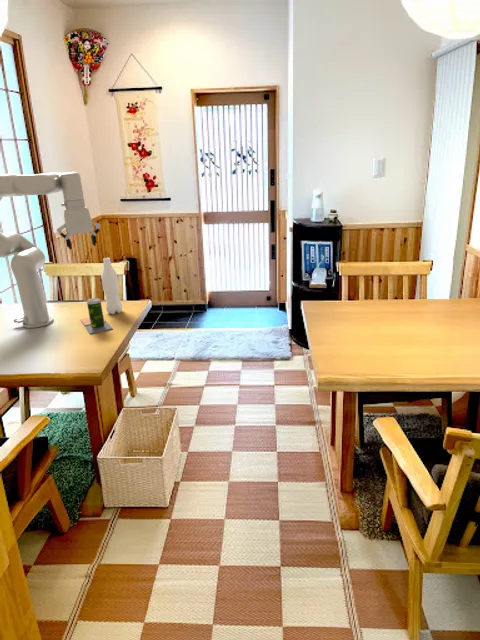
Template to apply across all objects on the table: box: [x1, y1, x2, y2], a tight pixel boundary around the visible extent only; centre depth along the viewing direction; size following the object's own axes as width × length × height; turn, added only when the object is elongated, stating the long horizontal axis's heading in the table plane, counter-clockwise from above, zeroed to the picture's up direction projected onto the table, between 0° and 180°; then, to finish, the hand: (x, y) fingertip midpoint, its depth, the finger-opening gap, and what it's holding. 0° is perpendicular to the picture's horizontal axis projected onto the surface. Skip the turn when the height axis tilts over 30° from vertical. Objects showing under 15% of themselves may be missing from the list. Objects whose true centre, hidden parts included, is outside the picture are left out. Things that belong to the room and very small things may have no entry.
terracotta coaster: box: [80, 317, 107, 327], centre depth 201 cm, size 9×9×1 cm
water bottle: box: [100, 257, 123, 315], centre depth 207 cm, size 7×7×25 cm
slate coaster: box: [85, 321, 114, 335], centre depth 192 cm, size 9×9×1 cm
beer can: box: [86, 297, 105, 329], centre depth 190 cm, size 5×5×12 cm
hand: (82, 246), depth 191 cm, fingers open, 9 cm apart
